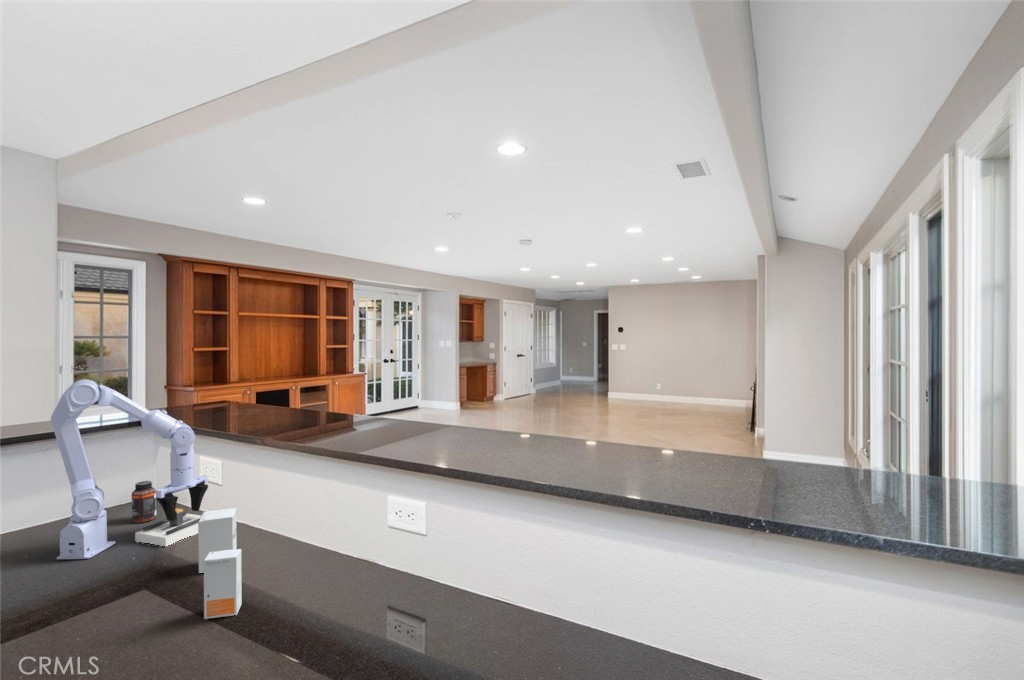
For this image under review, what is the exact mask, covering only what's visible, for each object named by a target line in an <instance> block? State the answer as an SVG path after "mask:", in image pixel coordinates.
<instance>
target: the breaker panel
mask: <svg viewBox="0 0 1024 680" xmlns="http://www.w3.org/2000/svg"><path fill="white" fill-rule="evenodd" d="M201 516H202V514H201V515H200V514H194V513H187V512H186V511H183V524H181V525H178V526H176V525H169V523H170V521H169V520H167V518H165V519H163V520H160V521H157V522H155V523H153V524H150V525H147V526H144V527H142V529H141V530H139V531H136V532H135V534H134V538H135V539H134V542H135V541H136V542H135V543H139V542H142V543H141V544H144V543H150V544H155V545H154V546H156V545H160V546H159V547H162V546H165V547H164V548H167V547H169V546H168V545H170V546H172V545H174V544H176V543H175V542H177V541H179V540H181V539H184V538H186V539H188V538H190V537H189V536H191V537H193V536H195V535H198V522H199V520H200V518H201ZM187 537H188V538H187ZM184 540H185V539H184ZM181 541H182V540H181ZM179 542H180V541H179ZM173 543H174V544H173ZM177 543H178V542H177ZM150 544H149V545H150ZM171 544H172V545H171ZM166 546H167V547H166Z"/></svg>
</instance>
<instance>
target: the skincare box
mask: <svg viewBox="0 0 1024 680" xmlns="http://www.w3.org/2000/svg"><path fill="white" fill-rule="evenodd" d="M242 589H243V588H242V548H238V549H235V550H223V551H216V552H209V554H208V555H207V557H206V558H205V560H204V574H203V619H204V620H208V619H215V618H222V617H230V616H231V617H234V615H235V616H237V615H238V614H239V610H240V608H241V606H242V604H243V603H242V601H243V600H242V598H243V595H242Z"/></svg>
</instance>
